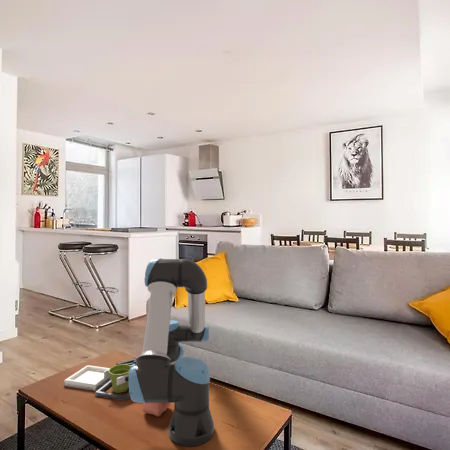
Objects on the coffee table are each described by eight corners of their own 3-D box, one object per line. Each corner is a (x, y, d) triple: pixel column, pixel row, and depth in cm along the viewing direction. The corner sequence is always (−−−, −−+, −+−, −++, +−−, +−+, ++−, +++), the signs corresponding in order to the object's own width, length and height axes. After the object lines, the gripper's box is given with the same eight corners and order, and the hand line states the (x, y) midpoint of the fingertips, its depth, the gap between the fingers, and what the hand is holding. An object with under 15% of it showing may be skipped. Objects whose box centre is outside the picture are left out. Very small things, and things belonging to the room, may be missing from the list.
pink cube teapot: (148, 401, 128) (149, 380, 128) (175, 409, 123) (175, 387, 123) (136, 412, 121) (136, 390, 121) (163, 420, 116) (163, 397, 116)
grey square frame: (126, 400, 128) (126, 397, 128) (95, 395, 132) (95, 392, 132) (143, 383, 142) (143, 380, 142) (115, 379, 145) (115, 376, 145)
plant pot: (125, 396, 131) (125, 375, 131) (103, 394, 133) (104, 372, 133) (136, 385, 141) (136, 365, 141) (116, 383, 142) (116, 363, 142)
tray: (95, 390, 136) (95, 384, 136) (64, 385, 140) (64, 379, 140) (115, 374, 150) (115, 369, 150) (87, 370, 154) (87, 365, 154)
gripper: (170, 375, 144) (126, 396, 127) (140, 362, 158) (96, 379, 140) (170, 358, 144) (126, 376, 127) (140, 346, 158) (96, 361, 140)
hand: (110, 378), depth 133 cm, fingers closed on plant pot, 9 cm apart
